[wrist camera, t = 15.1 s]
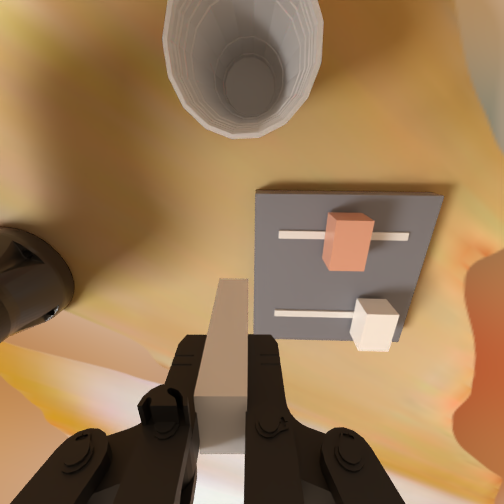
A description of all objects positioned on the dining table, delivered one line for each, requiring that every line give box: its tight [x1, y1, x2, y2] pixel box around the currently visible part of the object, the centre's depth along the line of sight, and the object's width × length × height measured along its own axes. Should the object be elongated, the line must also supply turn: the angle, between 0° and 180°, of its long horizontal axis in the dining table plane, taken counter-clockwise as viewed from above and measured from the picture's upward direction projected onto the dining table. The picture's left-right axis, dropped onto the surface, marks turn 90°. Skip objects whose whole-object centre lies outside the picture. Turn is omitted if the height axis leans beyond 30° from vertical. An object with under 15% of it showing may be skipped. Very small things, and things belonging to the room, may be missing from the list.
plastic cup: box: [162, 0, 324, 139], centre depth 22 cm, size 11×11×12 cm
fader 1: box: [322, 212, 375, 271], centre depth 29 cm, size 4×6×4 cm, turn 0°
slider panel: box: [254, 190, 444, 342], centre depth 34 cm, size 22×22×3 cm
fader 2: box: [350, 298, 399, 352], centre depth 33 cm, size 4×6×4 cm, turn 179°
